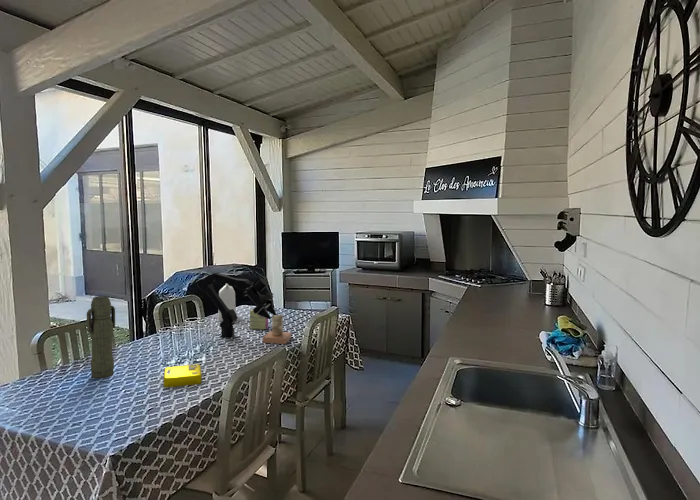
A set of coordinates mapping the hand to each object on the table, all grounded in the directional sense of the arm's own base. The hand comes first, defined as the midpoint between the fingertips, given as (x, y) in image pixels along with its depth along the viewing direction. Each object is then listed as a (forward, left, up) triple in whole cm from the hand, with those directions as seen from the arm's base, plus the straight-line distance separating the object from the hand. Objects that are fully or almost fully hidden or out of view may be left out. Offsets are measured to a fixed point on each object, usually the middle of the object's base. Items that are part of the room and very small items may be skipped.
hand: (273, 316), depth 254 cm
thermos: (-57, -68, -14) cm, 90 cm away
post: (+3, 0, -10) cm, 11 cm away
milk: (-46, +45, -14) cm, 66 cm away
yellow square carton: (-20, -67, -14) cm, 72 cm away
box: (-16, +24, -14) cm, 32 cm away
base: (+3, 0, -13) cm, 14 cm away
